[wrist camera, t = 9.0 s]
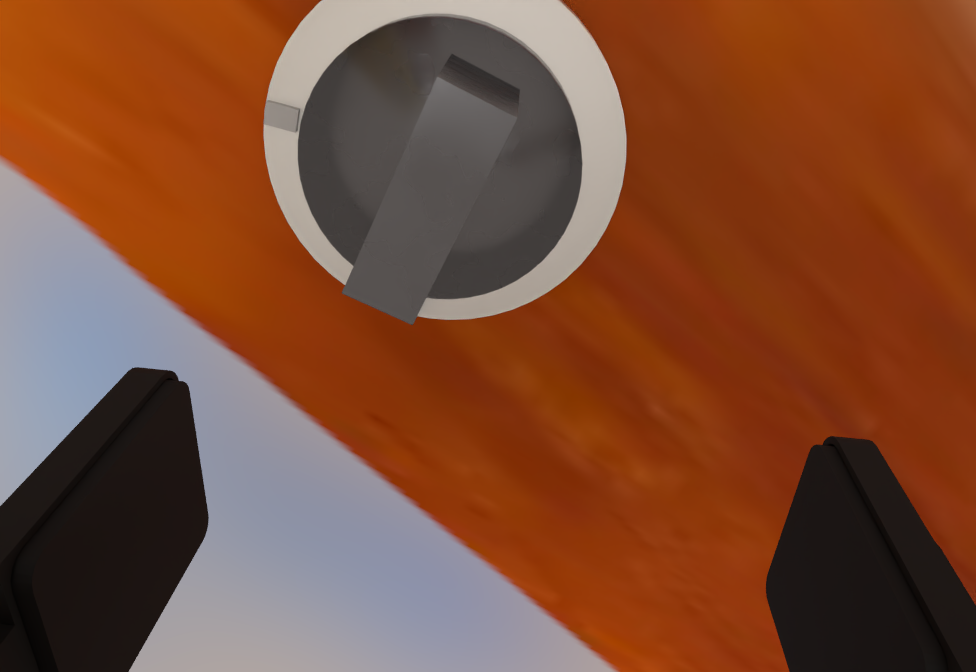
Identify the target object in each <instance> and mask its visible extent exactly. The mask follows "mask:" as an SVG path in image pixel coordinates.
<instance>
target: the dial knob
mask: <svg viewBox="0 0 976 672" xmlns="http://www.w3.org/2000/svg"><path fill="white" fill-rule="evenodd" d="M298 166H299V175H300V180H301V184H302V188H303V192H304V196H305V198H306V201H307V203H308V206H309V209H310V211H311V213H312V215H313V217H314V219H315V221H316V223H317V224H318V226H319V228H320V230H321V231H322V232H323V234H324V235H325V237H326V238H327V239H328V241H329V242H330V243H331V245H332V246H333V247H334V248H335V249H336V250H337V251H338V252H339V253H340V255H341V256H342V257H343V258H345V259H346V260H347V261H348V262H349V263H350V264H352V265H353V269H352V271H351V273H350V275H349V278H348V280H347V282H346V285H345V287H344V289H343V291H342V293H343V294H345V295H347V296H349V297H351V298H354V299H356V300H358V301H360V302H362V303H365V304H367V305H369V306H371V307H373V308H376V309H378V310H380V311H382V312H385V313H387V314H389V315H391V316H393V317H396V318H398V319H400V320H402V321H404V322H407V323H409V324H411V325H413V323H414V321H415V319H416V317H417V315H418V313H419V311H420V309H421V307H422V305H423V303H424V301H425V299H426V298H432V299H461V298H470V297H474V296H479V295H483V294H487V293H490V292H493V291H495V290H498V289H501V288H503V287H505V286H507V285H509V284H511V283H513V282H515V281H517V280H518V279H520V278H521V277H523V276H524V275H526V274H527V273H529V272H530V271H531V270H533V269H534V268H535V267H536V266H537V265H538V264H540V263H541V262H542V261H543V260H544V259H545V258H546V257H547V255H548V254H549V253H550V252H551V251H552V250H553V249H554V248H555V246H556V245H557V243H558V242H559V240H560V239H561V237H562V236H563V234H564V233H565V231H566V229H567V227H568V225H569V223H570V221H571V219H572V216H573V213H574V210H575V207H576V204H577V201H578V197H579V192H580V187H581V180H582V151H581V143H580V138H579V133H578V128H577V123H576V119H575V116H574V113H573V110H572V107H571V104H570V101H569V99H568V97H567V95H566V93H565V91H564V89H563V87H562V86H561V84H560V82H559V81H558V79H557V78H556V76H555V75H554V73H553V72H552V71H551V69H550V68H549V67H548V66H547V64H546V63H545V62H544V61H543V60H542V59H541V58H540V57H539V56H538V55H537V53H535V52H534V51H533V50H532V49H531V48H529V47H528V46H527V45H526V44H525V43H523V42H522V41H521V40H519V39H518V38H516V37H515V36H513V35H511V34H510V33H508V32H507V31H505V30H503V29H501V28H499V27H496V26H494V25H492V24H490V23H488V22H485V21H481V20H478V19H474V18H471V17H468V16H461V15H454V14H422V15H415V16H408V17H405V18H402V19H398V20H395V21H391V22H389V23H387V24H385V25H382V26H380V27H378V28H376V29H374V30H372V31H371V32H369V33H368V34H366V35H364V36H363V37H361V38H360V39H358V40H357V41H355V42H354V43H352V44H351V45H350V46H348V47H347V48H346V49H345V50H344V51H343V52H342V53H340V54H339V55H338V56H337V57H336V58H335V59H334V60H333V61H332V63H331V64H330V65H329V66H328V67H327V68H326V70H325V71H324V72H323V73H322V75H321V77H320V78H319V80H318V81H317V83H316V85H315V86H314V88H313V90H312V92H311V94H310V97H309V99H308V101H307V103H306V106H305V109H304V113H303V116H302V120H301V123H300V130H299V137H298Z"/></svg>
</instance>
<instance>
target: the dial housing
mask: <svg viewBox="0 0 976 672" xmlns="http://www.w3.org/2000/svg"><path fill="white" fill-rule="evenodd" d="M422 14H454V15H461V16H468V17H471V18H474V19H478V20H481V21H485V22H488V23H490V24H492V25H494V26H496V27H499V28H501V29H503V30H505V31H507V32H508V33H510V34H511V35H513V36H515V37H516V38H518V39H519V40H521V41H522V42H523V43H525V44H526V45H527V46H528V47H529V48H531V49H532V50H533V51H534V52H535V53H537V55H538V56H539V57H540V58H541V59H542V60H543V61H544V62H545V63H546V64H547V66H548V67H549V68H550V69H551V71H552V72H553V73H554V75H555V76H556V78H557V79H558V81H559V82H560V84H561V86H562V87H563V89H564V91H565V93H566V95H567V97H568V99H569V101H570V104H571V107H572V110H573V113H574V116H575V119H576V123H577V128H578V133H579V138H580V143H581V151H582V180H581V187H580V192H579V197H578V201H577V204H576V207H575V210H574V213H573V216H572V219H571V221H570V223H569V225H568V227H567V229H566V231H565V233H564V234H563V236H562V237H561V239H560V240H559V242H558V243H557V245H556V246H555V248H554V249H553V250H552V251H551V252H550V253H549V254H548V255H547V257H546V258H545V259H544V260H543V261H542V262H541V263H540V264H538V265H537V266H536V267H535V268H534V269H533V270H531V271H530V272H529V273H527V274H526V275H524V276H523V277H521V278H520V279H518V280H517V281H515V282H513V283H511V284H509V285H507V286H505V287H503V288H501V289H498V290H495V291H493V292H490V293H487V294H483V295H479V296H474V297H470V298H461V299H432V298H426V299H425V301H424V303H423V305H422V307H421V309H420V311H419V313H418V315H417V316H419V317H425V318H432V319H445V320H458V319H474V318H480V317H486V316H492V315H495V314H499V313H503V312H506V311H510V310H513V309H515V308H517V307H520V306H522V305H525V304H527V303H529V302H531V301H533V300H535V299H537V298H538V297H540V296H542V295H544V294H545V293H547V292H549V291H550V290H552V289H553V288H554V287H556V286H557V285H558V284H560V283H561V282H562V281H564V280H565V279H566V278H567V277H568V276H569V275H570V274H571V273H573V272H574V271H575V270H576V269H577V268H578V267H579V266H580V265H581V264H582V263H583V261H584V260H585V259H586V258H587V256H588V255H589V254H590V253H591V251H592V250H593V249H594V248H595V246H596V245H597V243H598V241H599V240H600V238H601V236H602V235H603V233H604V231H605V230H606V228H607V226H608V224H609V222H610V219H611V217H612V215H613V212H614V210H615V208H616V205H617V202H618V198H619V195H620V191H621V188H622V184H623V178H624V171H625V165H626V129H625V121H624V113H623V109H622V105H621V101H620V97H619V93H618V89H617V86H616V84H615V82H614V79H613V77H612V74H611V72H610V69H609V67H608V64H607V62H606V60H605V58H604V56H603V54H602V53H601V51H600V49H599V47H598V46H597V44H596V42H595V40H594V39H593V37H592V35H591V33H590V32H589V31H588V29H587V28H586V27H585V25H584V24H583V23H582V22H581V20H580V19H579V18H578V16H577V15H576V14H575V13H574V12H573V11H572V10H571V9H570V8H569V7H568V6H567V5H566V4H565V3H564V2H563V1H562V0H322V1H321V2H319V3H318V4H317V5H316V6H315V7H314V9H313V10H312V11H311V12H310V13H309V14H308V15H307V16H306V17H305V18H304V19H303V20H302V21H301V23H300V24H299V26H298V27H297V29H296V30H295V32H294V33H293V34H292V36H291V37H290V39H289V40H288V42H287V44H286V46H285V48H284V50H283V52H282V54H281V56H280V58H279V60H278V62H277V64H276V67H275V70H274V73H273V76H272V79H271V82H270V85H269V90H268V95H267V100H266V106H265V114H264V145H265V157H266V162H267V167H268V172H269V176H270V181H271V184H272V186H273V189H274V192H275V195H276V198H277V201H278V203H279V205H280V207H281V209H282V211H283V213H284V216H285V218H286V220H287V222H288V223H289V225H290V227H291V228H292V230H293V231H294V233H295V234H296V236H297V237H298V239H299V240H300V242H301V243H302V244H303V246H304V247H305V248H306V249H307V250H308V252H309V253H310V254H311V255H312V256H313V258H314V259H315V260H316V261H317V262H318V263H319V264H320V265H321V266H322V267H324V268H325V269H326V270H327V271H328V272H329V273H330V274H331V275H332V276H334V277H335V278H336V279H337V280H339V281H340V282H341V283H343V284H344V285H346V282H347V280H348V278H349V275H350V273H351V271H352V269H353V265H352V264H350V263H349V262H348V261H347V260H346V259H345V258H343V257H342V256H341V255H340V253H339V252H338V251H337V250H336V249H335V248H334V247H333V246H332V245H331V243H330V242H329V241H328V239H327V238H326V237H325V235H324V234H323V232H322V231H321V230H320V228H319V226H318V224H317V223H316V221H315V219H314V217H313V215H312V213H311V211H310V209H309V206H308V203H307V201H306V198H305V196H304V192H303V188H302V184H301V180H300V175H299V166H298V137H299V130H300V123H301V120H302V116H303V113H304V109H305V106H306V103H307V101H308V99H309V97H310V94H311V92H312V90H313V88H314V86H315V85H316V83H317V81H318V80H319V78H320V77H321V75H322V73H323V72H324V71H325V70H326V68H327V67H328V66H329V65H330V64H331V63H332V61H333V60H334V59H335V58H336V57H337V56H338V55H339V54H340V53H342V52H343V51H344V50H345V49H346V48H347V47H348V46H350V45H351V44H352V43H354V42H355V41H357V40H358V39H360V38H361V37H363V36H364V35H366V34H368V33H369V32H371V31H372V30H374V29H376V28H378V27H380V26H382V25H385V24H387V23H389V22H391V21H395V20H398V19H402V18H405V17H408V16H415V15H422ZM416 318H417V317H416Z"/></svg>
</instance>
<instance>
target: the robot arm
mask: <svg viewBox="0 0 976 672" xmlns="http://www.w3.org/2000/svg"><path fill="white" fill-rule="evenodd" d="M207 527H208V511H207V503H206V496H205V490H204V484H203V477H202V470H201V464H200V457H199V451H198V444H197V438H196V431H195V424H194V418H193V411H192V404H191V398H190V391H189V387H188V385H187V384H186V383H185V382H183V381H179V380H178V377H177V375H176V374H175V373H174V372H173V371H168V370H157V369H148V368H132V369H131V370H129V371H128V372H127V373H126V374H125V375H124V376H123V377H122V379H120V381H119V382H118V383H117V384H116V385H115V386H114V387H113V388H112V389H111V390H110V391H109V392H108V393H107V394H106V395H105V396H104V398H103V399H102V400H101V401H100V402H99V403H98V404H97V405H96V406H95V407H94V408H93V409H92V410H91V411H90V412H89V413H88V415H86V416H85V417H84V419H83V420H82V421H81V422H80V423H79V424H78V425H77V426H76V427H75V428H74V429H73V430H72V431H71V432H70V434H69V435H67V437H66V438H65V439H64V440H63V441H62V442H61V443H60V444H59V445H58V446H57V447H56V448H55V449H54V450H53V451H52V452H51V454H49V455H48V457H47V458H46V459H45V460H44V461H43V462H42V463H41V464H40V465H39V466H38V467H37V468H36V469H35V470H34V471H33V473H31V475H30V476H29V477H28V478H27V479H26V480H25V481H24V482H23V483H22V484H21V485H20V486H19V487H18V488H17V489H16V490H15V491H14V493H13V494H12V495H11V496H10V497H9V498H8V499H7V500H6V501H5V502H4V503H3V504H2V505H1V506H0V672H129V669H130V668H131V666H132V664H133V663H134V661H135V659H136V657H137V656H138V654H139V652H140V650H141V649H142V647H143V645H144V643H145V641H146V640H147V638H148V636H149V634H150V633H151V631H152V629H153V628H154V626H155V624H156V622H157V621H158V619H159V617H160V615H161V613H162V612H163V610H164V608H165V606H166V605H167V603H168V601H169V599H170V598H171V596H172V594H173V592H174V591H175V589H176V587H177V585H178V584H179V582H180V580H181V578H182V577H183V575H184V573H185V571H186V570H187V568H188V566H189V564H190V562H191V561H192V559H193V557H194V555H195V553H196V552H197V550H198V548H199V547H200V545H201V543H202V541H203V539H204V537H205V534H206V531H207ZM766 594H767V600H768V603H769V607H770V610H771V613H772V616H773V620H774V623H775V626H776V629H777V632H778V636H779V639H780V642H781V645H782V648H783V652H784V655H785V658H786V661H787V665H788V668H789V671H790V672H976V605H975V604H974V602H973V600H972V599H971V597H970V596H969V594H968V592H967V591H966V589H965V587H964V586H963V584H962V582H961V581H960V579H959V578H958V576H957V574H956V573H955V571H954V569H953V568H952V566H951V564H950V563H949V561H948V560H947V558H946V556H945V555H944V553H943V551H942V550H941V548H940V547H939V546H938V545H937V544H936V542H935V541H934V540H933V538H932V536H931V535H930V533H929V532H928V530H927V528H926V527H925V525H924V523H923V522H922V520H921V518H920V517H919V515H918V513H917V512H916V510H915V509H914V507H913V505H912V504H911V502H910V500H909V499H908V497H907V495H906V494H905V492H904V490H903V489H902V487H901V486H900V484H899V482H898V481H897V479H896V477H895V476H894V474H893V472H892V471H891V469H890V467H889V466H888V464H887V463H886V461H885V459H884V458H883V456H882V454H881V453H880V451H879V449H878V448H877V446H876V445H875V444H874V443H873V441H870V440H865V439H854V438H844V437H834V436H831V437H828V438H827V439H826V440H825V441H824V443H823V445H814V446H813V447H812V448H811V450H810V452H809V455H808V458H807V461H806V464H805V466H804V469H803V472H802V475H801V478H800V481H799V484H798V487H797V490H796V493H795V496H794V499H793V502H792V504H791V507H790V510H789V513H788V516H787V519H786V522H785V525H784V528H783V531H782V534H781V537H780V540H779V542H778V545H777V548H776V551H775V554H774V557H773V560H772V563H771V566H770V569H769V572H768V575H767V581H766Z"/></svg>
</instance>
